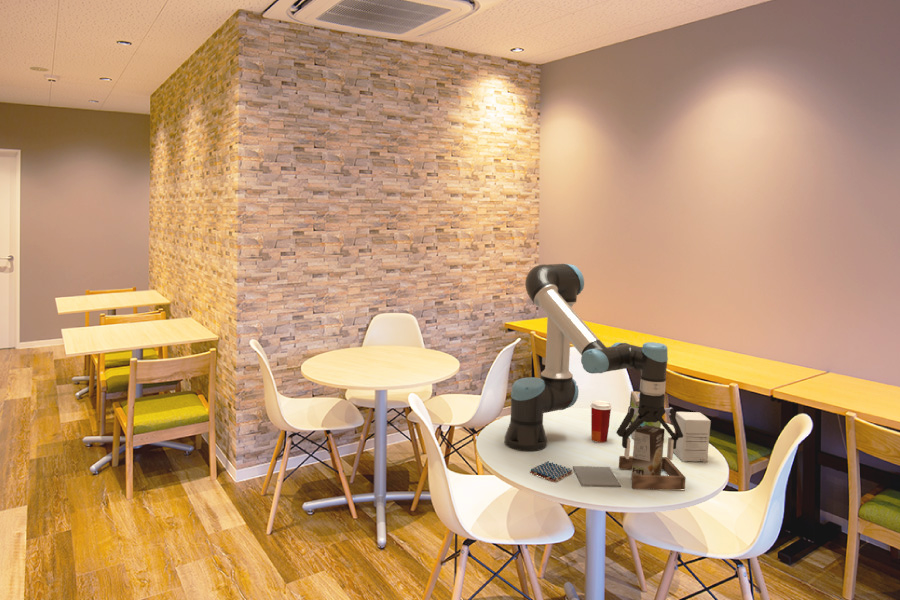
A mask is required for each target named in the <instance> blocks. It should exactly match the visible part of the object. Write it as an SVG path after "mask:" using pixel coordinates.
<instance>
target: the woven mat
mask: <svg viewBox="0 0 900 600" xmlns="http://www.w3.org/2000/svg"><path fill="white" fill-rule="evenodd" d="M530 473H532V474H531V475H533V474H534V475H533V476H536V475H538V476H541V477H543V478H542V479H544V478H545V480H547V481H550V482H552V483H555V484H556V483H557V482H560V481H561V480H563V479H564V478H566V477H568V476H569V477H570V476H571V475H573V469H571V468H569V467H566V466H562V464H560V465H559V464H558V463H554V462H550V461H549V460H548V461H544V463H542V462H541V464H538V465H536V466H535V467H532V468H531V469H530V471H529V474H530ZM538 476H537V477H538ZM541 477H540V478H541Z"/></svg>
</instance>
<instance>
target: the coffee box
mask: <svg viewBox="0 0 900 600" xmlns="http://www.w3.org/2000/svg"><path fill="white" fill-rule="evenodd" d="M665 431H666V429H665V428H664V427H663V428H661V427H660V428H659V427H655V426H649V425H645V426H643V427H641V428H639V429H638V430H636V431H635V436H634V440H633V453H632V456H633V463H632V469H631V478H630V479H631V481H632V476H633V475H662V470H661V469H662V457H664V442H665V441H664V440H665Z"/></svg>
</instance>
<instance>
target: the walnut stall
mask: <svg viewBox="0 0 900 600" xmlns="http://www.w3.org/2000/svg"><path fill="white" fill-rule="evenodd" d="M618 459H619V460H618V469H619V470H632V463H633V455H629V459H626V458H625V456H624V455H619V457H618ZM661 471H664V472H665V473H666V474H667V475H662V474H661V475H633V476H632V475H631V476H632V480H631V488H632V490H659V489H685V488H686V479H687V478H686V476H685V475H684V474H683V473H682V472H681V471H680V470H679V469H678V467H676V465H675V464H674V463H673V462H672V460H670V459H669V458H668V457H667V456H662V469H661ZM668 475H669V476H668Z"/></svg>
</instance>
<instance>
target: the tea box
mask: <svg viewBox="0 0 900 600" xmlns="http://www.w3.org/2000/svg"><path fill="white" fill-rule="evenodd" d="M640 392H641V391H635V390H633V391H632V390H631V391H630V400H629V406H632V407H633V408H638V407H639V397H640ZM638 415H639V413H638V412H636V414H635V415H633V418H632V420H631V421H630V423H629V425H628V427H629V426H630V425H631V424H632V423H633V422H634V421H635V420H636V418H637V416H638ZM645 425H649V426H655V427H659V428H661V426H662V424H661V423H660V422H659V421H658V422H656V423H654V422H645V421H644V422H643V423H642V424H641V425H640V426H639V427H638V428H637V429H636V430H638V429H639V428H641V427H643V426H645ZM636 430H635V431H636ZM635 431H634V432H633V433H632V434H631V437H632V439H634V436H635Z"/></svg>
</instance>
